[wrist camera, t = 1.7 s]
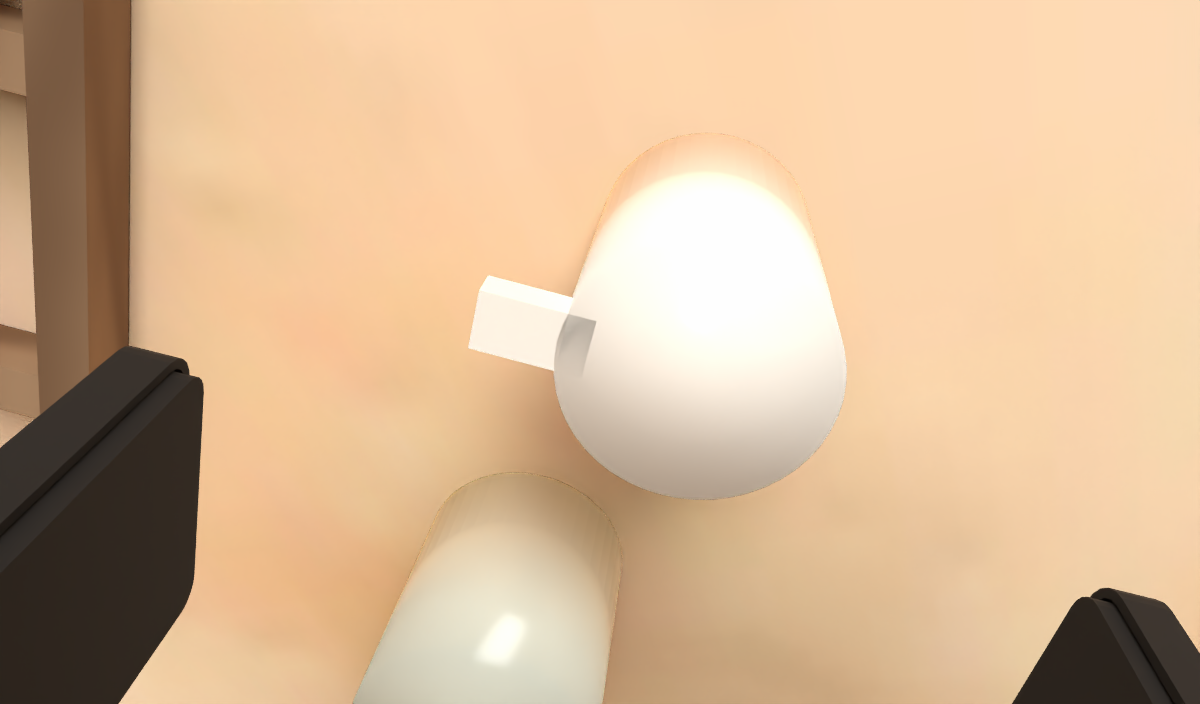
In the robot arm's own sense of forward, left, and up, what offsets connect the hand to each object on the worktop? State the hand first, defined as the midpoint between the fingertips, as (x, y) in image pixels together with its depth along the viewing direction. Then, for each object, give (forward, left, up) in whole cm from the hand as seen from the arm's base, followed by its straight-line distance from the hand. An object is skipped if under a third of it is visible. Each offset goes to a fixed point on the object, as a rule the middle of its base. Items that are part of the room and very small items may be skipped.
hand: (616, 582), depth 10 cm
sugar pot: (+1, +9, -11) cm, 15 cm away
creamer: (-1, 0, -11) cm, 11 cm away
